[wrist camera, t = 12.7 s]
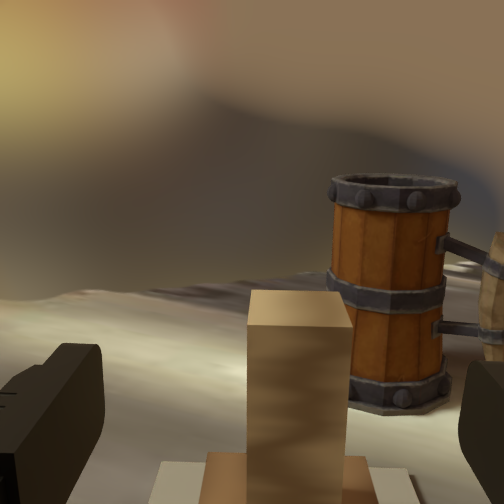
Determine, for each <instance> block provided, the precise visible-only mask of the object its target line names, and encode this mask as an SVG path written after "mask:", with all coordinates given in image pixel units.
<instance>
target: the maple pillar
mask: <svg viewBox="0 0 504 504" xmlns="http://www.w3.org/2000/svg"><path fill="white" fill-rule="evenodd" d="M352 334H353V326H352V324H351V321H350V318H349V316H348V313H347V311H346V308H345V306H344V303H343V300H342V298H341V295H340V293H339V292H331V291H283V290H252V292H251V300H250V308H249V315H248V323H247V480H246V504H341V501H342V486H343V471H344V456H345V441H346V425H347V410H348V395H349V380H350V365H351V350H352Z"/></svg>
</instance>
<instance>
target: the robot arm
mask: <svg viewBox="0 0 504 504" xmlns="http://www.w3.org/2000/svg"><path fill="white" fill-rule="evenodd" d="M104 417H105V399H104V383H103V367H102V353H101V349H100V347H99V345H97V344H77V343H62V344H61V345H60V346H59V347H58V348H57V349H56V350H55V351H54V352H53V354H52V355H51V356H50V357H49V358H48V359H47V360H46V361H45V363H44V364H43V365H33V366H32V367H30V368H28V369H26V370H24V371H23V372H21V373H19V374H17V375H16V376H14V377H12V379H11V380H10V381H9V382H8V383H7V384H6V385H5V386H4V387H3V388H2V389H1V390H0V504H66V502H67V500H68V498H69V496H70V494H71V492H72V490H73V488H74V486H75V484H76V482H77V480H78V479H79V477H80V475H81V473H82V471H83V469H84V467H85V465H86V463H87V461H88V459H89V457H90V455H91V453H92V451H93V449H94V447H95V445H96V443H97V441H98V439H99V437H100V435H101V432H102V428H103V424H104ZM458 437H459V443H460V447H461V450H462V453H463V455H464V457H465V458H466V460H467V462H468V463H469V465H470V467H471V469H472V470H473V472H474V474H475V476H476V477H477V479H478V481H479V483H480V484H481V486H482V488H483V489H484V491H485V493H486V495H487V496H488V498H489V500H490V502H491V503H492V504H504V362H503V361H479V360H475V361H472V362H471V364H470V365H469V368H468V371H467V376H466V382H465V388H464V394H463V399H462V405H461V411H460V417H459V423H458Z"/></svg>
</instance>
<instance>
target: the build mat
mask: <svg viewBox="0 0 504 504" xmlns="http://www.w3.org/2000/svg"><path fill="white" fill-rule="evenodd" d="M205 465H206V463H199V462H164V461H162V462H161V465H160V468H159V471H158V475H157V478H156V481H155V484H154V487H153V490H152V494H151V497H150V500H149V503H148V504H198V503H199V497H200V492H201V486H202V481H203V476H204V470H205ZM368 468H369V471H370V475H371V478H372V482H373V485H374V489H375V492H376V496H377V499H378V503H379V504H420V503H419V500H418V498H417V495H416V493H415V490H414V488H413V485H412V482H411V480H410V477H409V475H408V472H407V470H406V468H373V467H368Z"/></svg>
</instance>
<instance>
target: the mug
mask: <svg viewBox="0 0 504 504" xmlns="http://www.w3.org/2000/svg"><path fill="white" fill-rule="evenodd" d="M457 185H458V182H457V181H454V180H450V179H446V178H442V177H432V176H423V175H409V174H388V173H384V174H383V173H374V174H373V173H369V174H366V173H365V174H364V173H361V174H348V175H340V176H337V177H334V178H332V180H331V186H330V187H329V188H328V191H327V195H328V197H329V199H330V200H331V201H333V202H335V205H334V226H333V245H332V265H331V268H329V269H328V270H327V280H326V289H327V290H328V291H331V292H339V293H340V295H341V298H342V300H343V303H344V306H345V308H346V311H347V313H348V316H349V318H350V321H351V324H352V326H353V334H352V350H351V365H350V380H349V395H348V407H349V408H353V409H357V410H361V411H365V412H369V413H373V414H377V415H381V416H395V415H418V414H425V413H427V412H429V411H431V410H433V409H435V408H437V407H439V406H441V405H443V404H445V403H446V402H448V401H449V398H450V391H451V384H452V377H451V376H450V375H449V374H448V373H447V372H446V367H447V358H446V357H445V356H444V355H443V354H442V333H444V334H454V335H464V336H474V337H478V339H479V340H480V341H482V346H483V351H484V355H485V360H486V361H503V362H504V233H502V232H496V233H495V236H494V239H493V242H492V245H491V248H490V250H489V253H487V252H485V251H482V250H480V249H477V248H475V247H473V246H470V245H468V244H465V243H463V242H460V241H458V240H455V239H453V238H451V237H450V233H449V232H447V231H448V222H449V213H450V210H451V209H452V208H454V207H456V206H457V205H458V204H459V203H460V201H461V195H460V193H459V192H458V191H457ZM446 251H449V252H452V253H454V254H456V255H459V256H461V257H464V258H466V259H469V260H471V261H474V262H476V263H479V264H481V265H483V272H482V279H481V287H480V294H479V301H478V305H479V323H478V324H475V323H463V322H451V321H443V315H442V304H443V300H444V296H445V288H446V280H447V277H446V276H444V275H443V266H444V257H445V252H446Z"/></svg>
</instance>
